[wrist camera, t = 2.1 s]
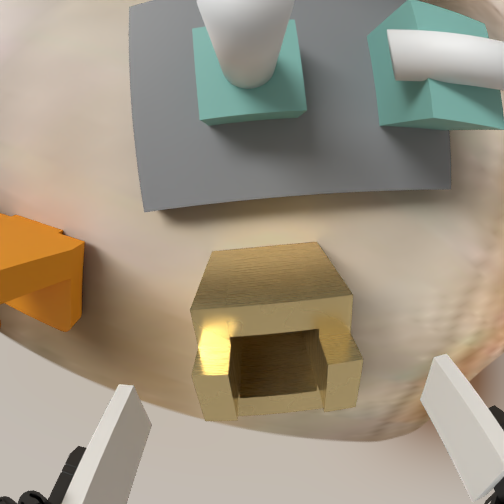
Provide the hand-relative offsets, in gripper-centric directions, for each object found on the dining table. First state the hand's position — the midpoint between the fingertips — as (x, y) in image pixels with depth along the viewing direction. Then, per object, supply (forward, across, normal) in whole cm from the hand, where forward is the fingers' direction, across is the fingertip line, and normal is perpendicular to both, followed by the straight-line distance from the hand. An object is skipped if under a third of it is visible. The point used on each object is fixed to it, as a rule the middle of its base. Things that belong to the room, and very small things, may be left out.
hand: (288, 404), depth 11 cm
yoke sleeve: (+10, 0, 0) cm, 10 cm away
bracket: (+10, -20, +4) cm, 22 cm away
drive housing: (+10, +2, +14) cm, 18 cm away
